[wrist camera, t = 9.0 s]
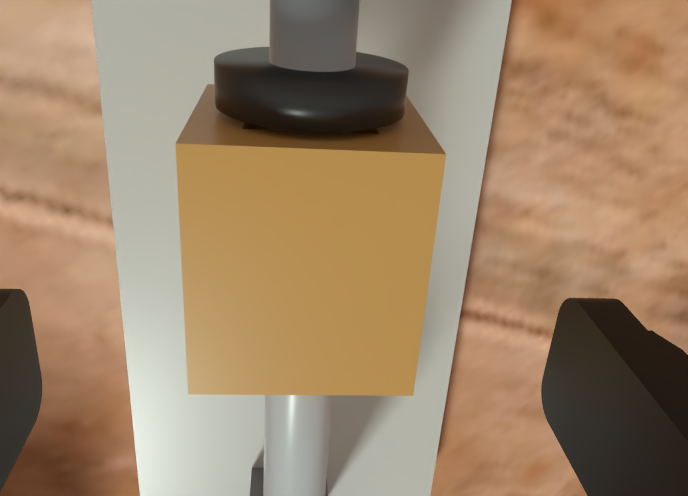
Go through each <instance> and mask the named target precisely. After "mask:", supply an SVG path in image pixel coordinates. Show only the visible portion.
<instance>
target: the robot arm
mask: <svg viewBox="0 0 688 496" xmlns="http://www.w3.org/2000/svg"><path fill="white" fill-rule="evenodd" d="M541 393H542V404H543V409H544V413H545V416H546V419H547V421H548V423H549V425H550V427H551V428H552V430H553V432H554V434H555V436H556V438H557V440H558V441H559V443H560V445H561V447H562V449H563V451H564V453H565V454H566V456H567V458H568V460H569V462H570V464H571V466H572V468H573V469H574V471H575V473H576V475H577V477H578V479H579V481H580V482H581V484H582V486H583V488H584V490H585V492H586V494H587V495H588V496H688V355H687V354H686V353H685V352H684V351H683V350H682V349H680V348H678V347H677V346H675V345H674V344H672V343H671V342H669V341H667V340H666V339H664V338H663V337H661V336H659V335H658V334H656V333H655V332H653V331H648V330H647V329H646V328H645V327H644V326H643V325H642V324H641V323H640V322H639V320H638V319H637V318H636V317H635V316H634V315H633V314H632V313H631V312H630V311H629V309H628V308H627V307H626V306H625V305H624V304H623V303H622V302H621V301H620V300H618V299H604V298H568V299H566V300H565V301H564V302H563V304H562V305H561V307H560V310H559V313H558V317H557V321H556V325H555V329H554V334H553V338H552V342H551V346H550V350H549V354H548V358H547V363H546V367H545V371H544V375H543V380H542V390H541ZM41 397H42V378H41V371H40V365H39V359H38V353H37V347H36V341H35V335H34V329H33V323H32V317H31V311H30V306H29V301H28V298H27V296H26V294H25V293H24V291H22V290H21V289H0V492H1V490H2V488H3V486H4V484H5V482H6V480H7V478H8V476H9V474H10V472H11V470H12V468H13V466H14V464H15V462H16V460H17V458H18V456H19V454H20V452H21V450H22V448H23V446H24V444H25V442H26V440H27V438H28V436H29V434H30V432H31V430H32V428H33V426H34V424H35V421H36V419H37V416H38V413H39V409H40V404H41Z"/></svg>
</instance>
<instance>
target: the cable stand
mask: <svg viewBox="0 0 688 496" xmlns="http://www.w3.org/2000/svg"><path fill="white" fill-rule="evenodd" d="M511 3H512V0H91V4H92V14H93V24H94V34H95V44H96V55H97V65H98V75H99V85H100V95H101V105H102V115H103V125H104V136H105V146H106V156H107V166H108V176H109V186H110V196H111V206H112V217H113V227H114V237H115V247H116V257H117V267H118V277H119V287H120V298H121V308H122V318H123V328H124V338H125V348H126V358H127V368H128V379H129V389H130V399H131V409H132V419H133V429H134V439H135V449H136V460H137V470H138V480H139V490H140V496H430V494H431V488H432V482H433V475H434V469H435V463H436V457H437V451H438V445H439V439H440V433H441V427H442V421H443V415H444V409H445V403H446V397H447V391H448V384H449V378H450V372H451V366H452V360H453V354H454V348H455V342H456V336H457V330H458V324H459V318H460V312H461V306H462V300H463V294H464V287H465V281H466V275H467V269H468V263H469V257H470V251H471V245H472V239H473V233H474V227H475V221H476V215H477V209H478V203H479V197H480V190H481V184H482V178H483V172H484V166H485V160H486V154H487V148H488V142H489V136H490V130H491V124H492V118H493V112H494V106H495V100H496V93H497V87H498V81H499V75H500V69H501V63H502V57H503V51H504V45H505V39H506V33H507V27H508V21H509V15H510V9H511ZM207 84H214V91H215V106H216V108H217V109H218V110H219V111H220V112H221V113H223V114H225V115H227V116H229V117H231V118H233V119H236V120H239V121H242V122H246V123H249V124H254V125H258V126H263V127H268V130H284V131H303V132H331V133H351V132H354V131H364V130H371V129H377V128H381V127H386V126H389V125H392V124H394V123H396V122H398V121H400V120H401V119H402V118H403V117H404V113H405V103H406V95H407V97H408V98H409V100H410V101H411V103H412V104H413V106H414V107H415V109H416V110H417V112H418V113H419V114H420V116H421V117H422V119H423V120H424V122H425V123H426V125H427V126H428V128H429V129H430V131H431V132H432V134H433V135H434V137H435V138H436V140H437V141H438V143H439V144H440V146H441V147H442V149H443V150H444V152H445V153H446V160H445V168H444V175H443V182H442V189H441V197H440V204H439V211H438V219H437V226H436V233H435V241H434V248H433V255H432V262H431V270H430V277H429V284H428V292H427V299H426V306H425V313H424V321H423V328H422V335H421V343H420V350H419V357H418V365H417V372H416V379H415V386H414V394H413V396H371V395H203V394H188V382H187V362H186V342H185V323H184V303H183V283H182V263H181V243H180V224H179V204H178V184H177V164H176V144H175V143H176V141H177V140H178V138H179V136H180V134H181V132H182V130H183V129H184V127H185V125H186V123H187V121H188V119H189V118H190V116H191V114H192V112H193V110H194V108H195V106H196V105H197V103H198V101H199V99H200V97H201V95H202V94H203V92H204V90H205V88H206V86H207Z"/></svg>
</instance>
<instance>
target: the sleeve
mask: <svg viewBox="0 0 688 496" xmlns="http://www.w3.org/2000/svg"><path fill="white" fill-rule="evenodd" d="M175 144H176V164H177V184H178V204H179V224H180V243H181V263H182V283H183V303H184V323H185V342H186V362H187V382H188V394H203V395H371V396H413V394H414V386H415V379H416V372H417V365H418V357H419V350H420V343H421V335H422V328H423V321H424V313H425V306H426V299H427V292H428V284H429V277H430V270H431V262H432V255H433V248H434V241H435V233H436V226H437V219H438V211H439V204H440V197H441V189H442V182H443V175H444V168H445V160H446V153H445V152H444V150H443V149H442V147H441V146H440V144H439V143H438V141H437V140H436V138H435V137H434V135H433V134H432V132H431V131H430V129H429V128H428V126H427V125H426V123H425V122H424V120H423V119H422V117H421V116H420V114H419V113H418V112H417V110H416V109H415V107H414V106H413V104H412V103H411V101H410V100H409V98H408V97H407V95H406V103H405V113H404V117H403V118H402V119H401V120H400V121H398V122H396V123H394V124H392V125H389V126H386V127H381V128H377V129H371V130H364V131H354V132H351V133H331V132H303V131H284V130H268V127H263V126H258V125H254V124H249V123H246V122H242V121H239V120H236V119H233V118H231V117H229V116H227V115H225V114H223V113H221V112H220V111H219V110H218V109H217V108H216V106H215V91H214V84H207V86H206V88H205V90H204V92H203V94H202V95H201V97H200V99H199V101H198V103H197V105H196V106H195V108H194V110H193V112H192V114H191V116H190V118H189V119H188V121H187V123H186V125H185V127H184V129H183V130H182V132H181V134H180V136H179V138H178V140H177V141H176V143H175Z"/></svg>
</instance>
